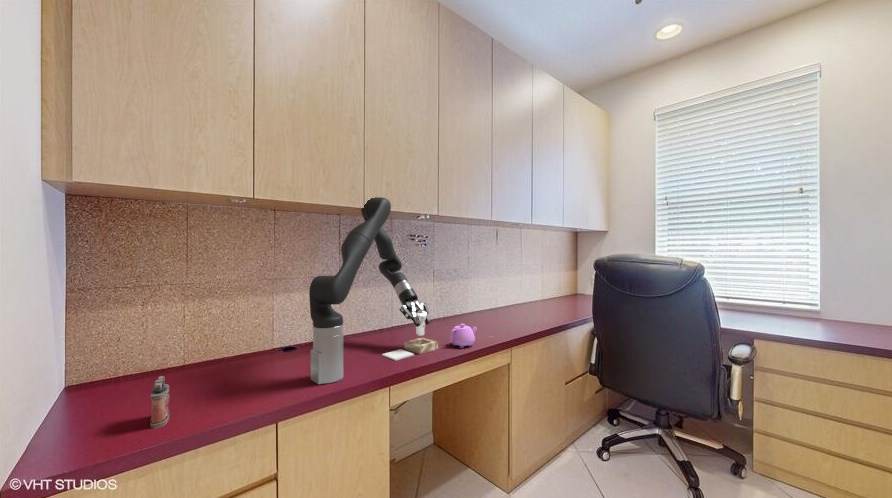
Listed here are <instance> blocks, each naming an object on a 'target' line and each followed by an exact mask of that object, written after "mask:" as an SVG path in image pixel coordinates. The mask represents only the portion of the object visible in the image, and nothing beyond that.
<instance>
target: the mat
mask: <svg viewBox="0 0 892 498" xmlns="http://www.w3.org/2000/svg"><path fill="white" fill-rule="evenodd" d="M381 356H382V357H384V358H387V359H390V360H392V361H395V362H396V361H400V360H403V359H406V358H410V357H413V356H415V353H414V352H411V351H408V350H405V349H401V348H399V349H397V350H392V351H389V352H385V353H381Z"/></svg>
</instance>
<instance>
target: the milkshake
mask: <svg viewBox="0 0 892 498" xmlns="http://www.w3.org/2000/svg"><path fill="white" fill-rule="evenodd" d="M424 312H425V310H424ZM415 314H416V317H417V318H418V320H419V322H420V326H419V327H417V326H416V325H415V330H416V332H415V333H416V334H415V335H416V336H418V337H419V336H420V337H422V336H424V335H425V333H426V331H425V330H426V324H425V322H426V314H424V313H418V314H417V313H415Z"/></svg>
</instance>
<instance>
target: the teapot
mask: <svg viewBox="0 0 892 498" xmlns="http://www.w3.org/2000/svg"><path fill="white" fill-rule="evenodd" d="M477 329H478V328H477V326H473V327H471V326H468V325H466V324H465V323H460V324H459V325H456V326H454V327H453V329H452V330H450V338H449V339H450V340H449V342H450V343H451V344H452V345H453V346H454V347H457V346H459V348H460V349H464V348H465V347H472V346H473V344H474V343H475V341H476V337H475V333H476V332H477Z"/></svg>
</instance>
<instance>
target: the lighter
mask: <svg viewBox="0 0 892 498" xmlns="http://www.w3.org/2000/svg"><path fill="white" fill-rule="evenodd" d="M165 380H166V379H165V376H163V375H161V376H158V378H157V379H156V380H155V382H154V385H153V386H154V387H153V388H152V390H151V391H150V392H149V393H150V400H151V418H150V425H149V426H150V429H157V428H161V427H164V426H165V425H166V424H167V423H168V422H169V419H170V411H169V402H170V393H169V392H170V385H169V384H168V383H165Z"/></svg>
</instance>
